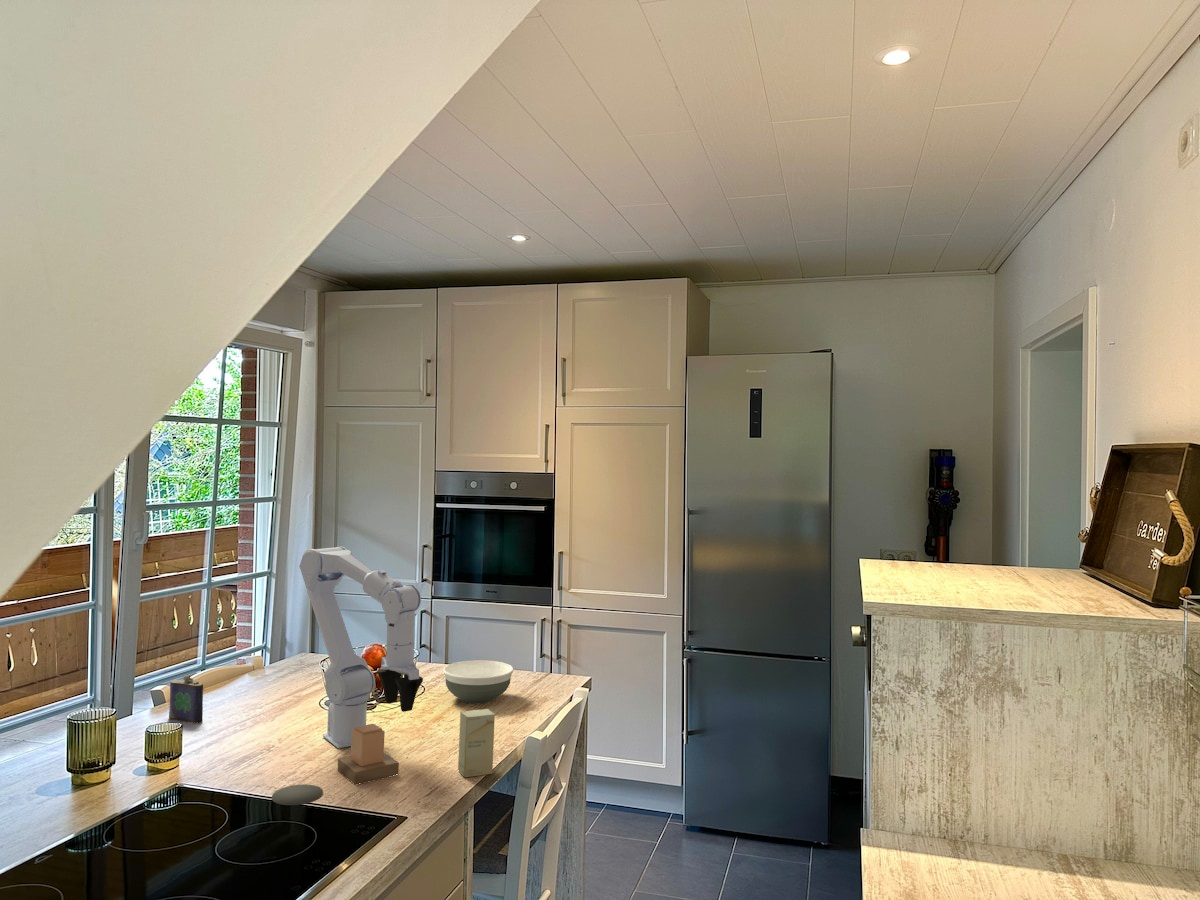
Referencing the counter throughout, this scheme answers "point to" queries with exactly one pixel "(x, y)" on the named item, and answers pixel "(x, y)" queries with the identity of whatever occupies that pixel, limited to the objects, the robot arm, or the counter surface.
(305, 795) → the coaster
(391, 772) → the walnut block
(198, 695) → the flask
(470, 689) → the bowl
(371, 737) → the tall tan wooden block
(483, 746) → the skincare box
